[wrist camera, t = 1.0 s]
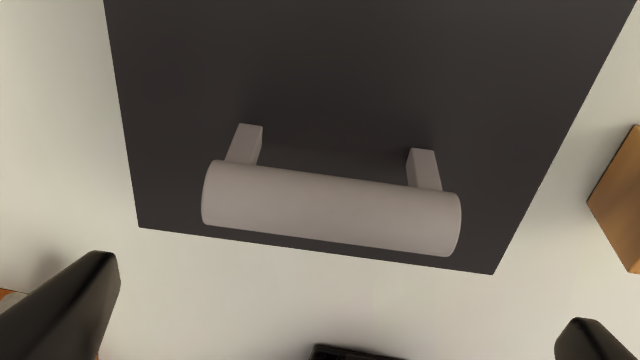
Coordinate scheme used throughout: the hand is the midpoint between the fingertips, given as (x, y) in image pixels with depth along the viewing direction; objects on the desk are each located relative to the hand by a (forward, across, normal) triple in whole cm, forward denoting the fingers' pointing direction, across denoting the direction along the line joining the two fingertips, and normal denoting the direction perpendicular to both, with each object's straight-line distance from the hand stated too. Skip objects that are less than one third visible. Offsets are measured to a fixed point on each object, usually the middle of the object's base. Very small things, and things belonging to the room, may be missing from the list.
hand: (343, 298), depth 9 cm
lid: (+6, 0, -2) cm, 7 cm away
